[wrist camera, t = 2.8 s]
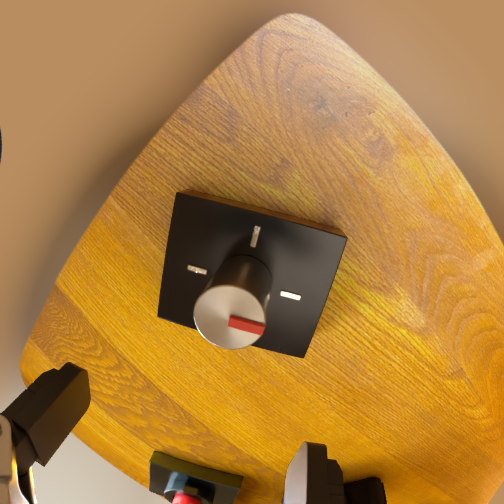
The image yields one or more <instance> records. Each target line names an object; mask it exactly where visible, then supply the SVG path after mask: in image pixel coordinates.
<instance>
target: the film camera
mask: <svg viewBox="0 0 504 504" xmlns="http://www.w3.org/2000/svg"><path fill="white" fill-rule="evenodd" d="M343 486H344V498H345V504H387V500H386V495H385V490H384V484H383V482H381V480H380V479H379V478H376V477H375V478H368V479H364V480H361V481H357V482H354V483H350V484H346V485H343ZM282 504H284V497H283V499H282Z"/></svg>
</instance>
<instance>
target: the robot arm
mask: <svg viewBox="0 0 504 504" xmlns="http://www.w3.org/2000/svg"><path fill="white" fill-rule="evenodd" d="M90 400H91V396H90V388H89V379H88V372H87V371H86V370H85V369H83V368H81V367H79V366H77V365H75V364H73V363H71V362H68V363H66V364H65V365H64V366H63V367H62V368H61V369H60V370H59V371H58V370H56V369H55V368H54V369H51V370H49V371H47V372H44V373H42V374H41V375H40V376H39V377H38V378H37V379H36V380H35V381H34V383H32V384H31V385H30V386H29V387H28V389H26V390H25V391H24V392H23V393H21V394H20V395H19V397H18V398H17V399H15V400H14V401H13V403H11V405H9V406H8V407H7V408H6V409H5V411H3V412H2V413H0V504H37V501H36V495H35V488H34V481H33V473H32V467H31V466H32V465H33V463H34V462H35V461H36V462H38V463H39V464H41V465H42V466H44V467H45V465H46V464H47V463H48V461H49V460H50V458H51V457H52V456H53V454H54V453H55V452H56V450H57V449H58V448H59V446H60V445H61V444H62V442H63V441H64V440H65V438H66V437H67V436H68V435H69V433H70V432H71V431H72V429H73V428H74V427H75V425H76V424H77V423H78V421H79V420H80V419H81V417H82V416H83V415H84V414H85V412H86V411H87V409H88V407H89V404H90ZM284 504H345V498H344V486H343V473H342V470H341V468H340V466H339V464H338V463H337V461H336V460H332V459H327V447H326V445H325V444H319V443H312V442H306V441H305V442H303V444H302V445H301V447H300V448H299V450H298V451H297V453H296V455H295V456H294V458H293V459H292V461H291V462H290V464H289V466H288V469H287V473H286V480H285V493H284Z"/></svg>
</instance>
